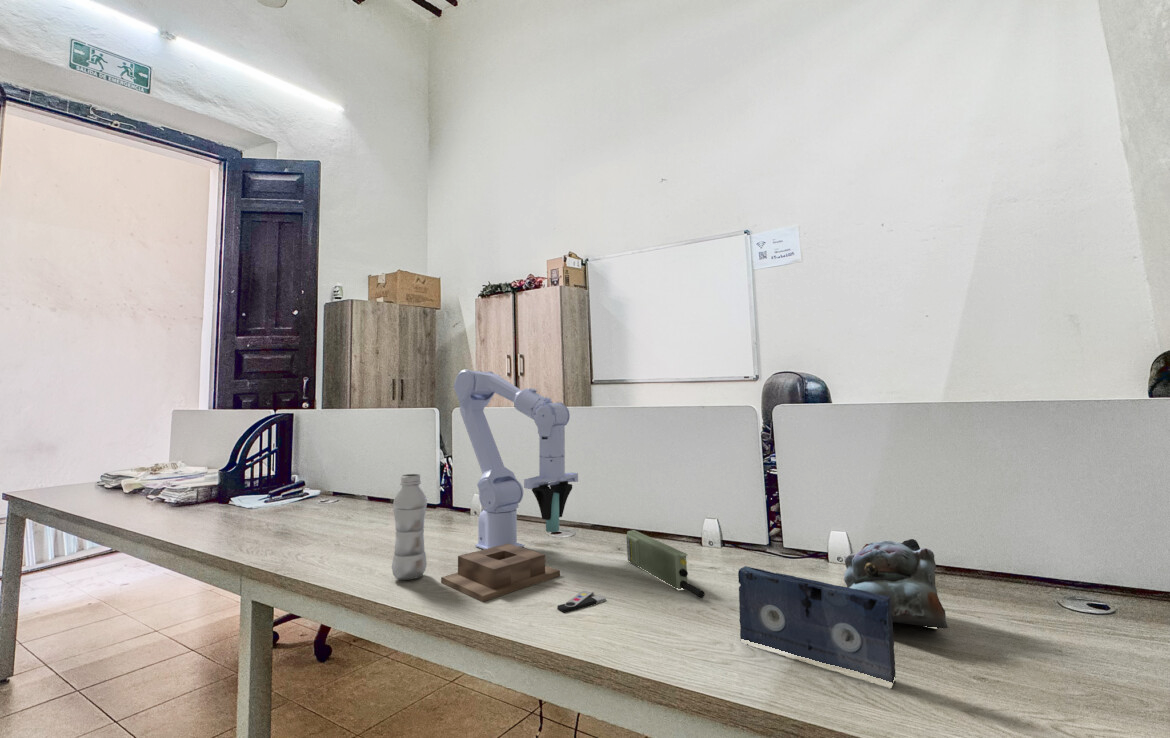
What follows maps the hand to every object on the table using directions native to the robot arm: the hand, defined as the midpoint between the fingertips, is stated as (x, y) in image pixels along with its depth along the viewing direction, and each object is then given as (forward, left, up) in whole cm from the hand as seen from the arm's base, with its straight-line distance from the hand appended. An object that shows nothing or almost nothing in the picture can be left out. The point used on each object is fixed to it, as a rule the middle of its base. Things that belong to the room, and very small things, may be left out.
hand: (552, 517), depth 109 cm
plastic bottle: (-11, -28, -9) cm, 31 cm away
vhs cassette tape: (+58, -7, -9) cm, 59 cm away
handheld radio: (+26, +5, -9) cm, 28 cm away
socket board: (+3, -16, -9) cm, 18 cm away
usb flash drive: (+22, -14, -9) cm, 28 cm away
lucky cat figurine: (+62, +12, -9) cm, 64 cm away
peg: (0, 0, -3) cm, 3 cm away
